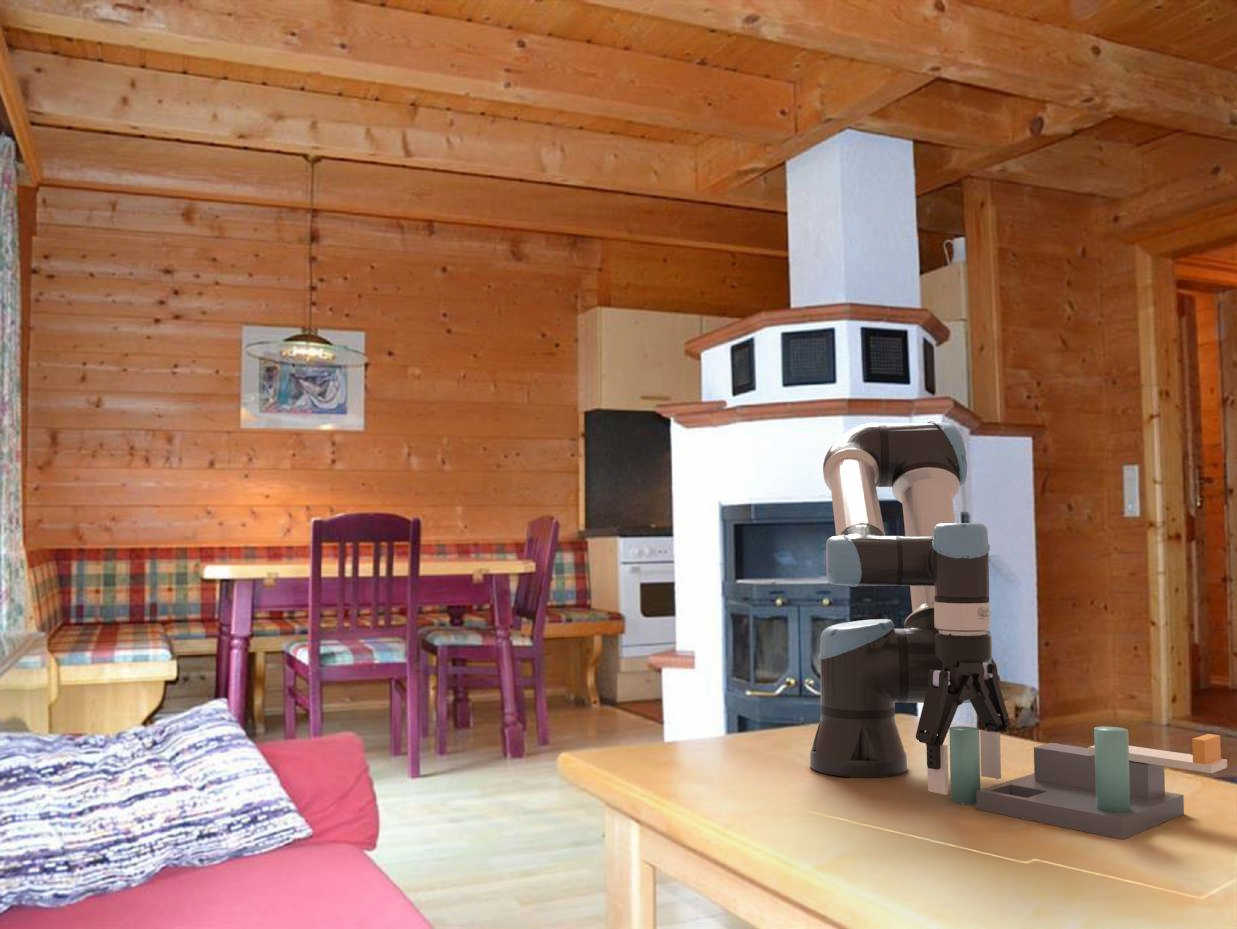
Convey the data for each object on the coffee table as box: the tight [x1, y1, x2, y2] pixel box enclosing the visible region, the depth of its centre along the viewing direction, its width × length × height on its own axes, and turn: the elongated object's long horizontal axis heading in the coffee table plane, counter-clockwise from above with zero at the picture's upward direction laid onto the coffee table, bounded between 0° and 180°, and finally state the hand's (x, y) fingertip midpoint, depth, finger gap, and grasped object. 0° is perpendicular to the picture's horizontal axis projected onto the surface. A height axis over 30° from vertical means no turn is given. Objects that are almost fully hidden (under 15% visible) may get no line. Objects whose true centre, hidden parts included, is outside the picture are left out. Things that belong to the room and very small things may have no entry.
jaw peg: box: [948, 725, 981, 806], centre depth 160 cm, size 4×4×10 cm
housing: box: [975, 726, 1185, 840], centre depth 154 cm, size 20×18×12 cm
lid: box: [1087, 733, 1228, 774], centre depth 152 cm, size 16×5×4 cm, turn 42°
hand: (965, 784), depth 160 cm, fingers open, 13 cm apart
